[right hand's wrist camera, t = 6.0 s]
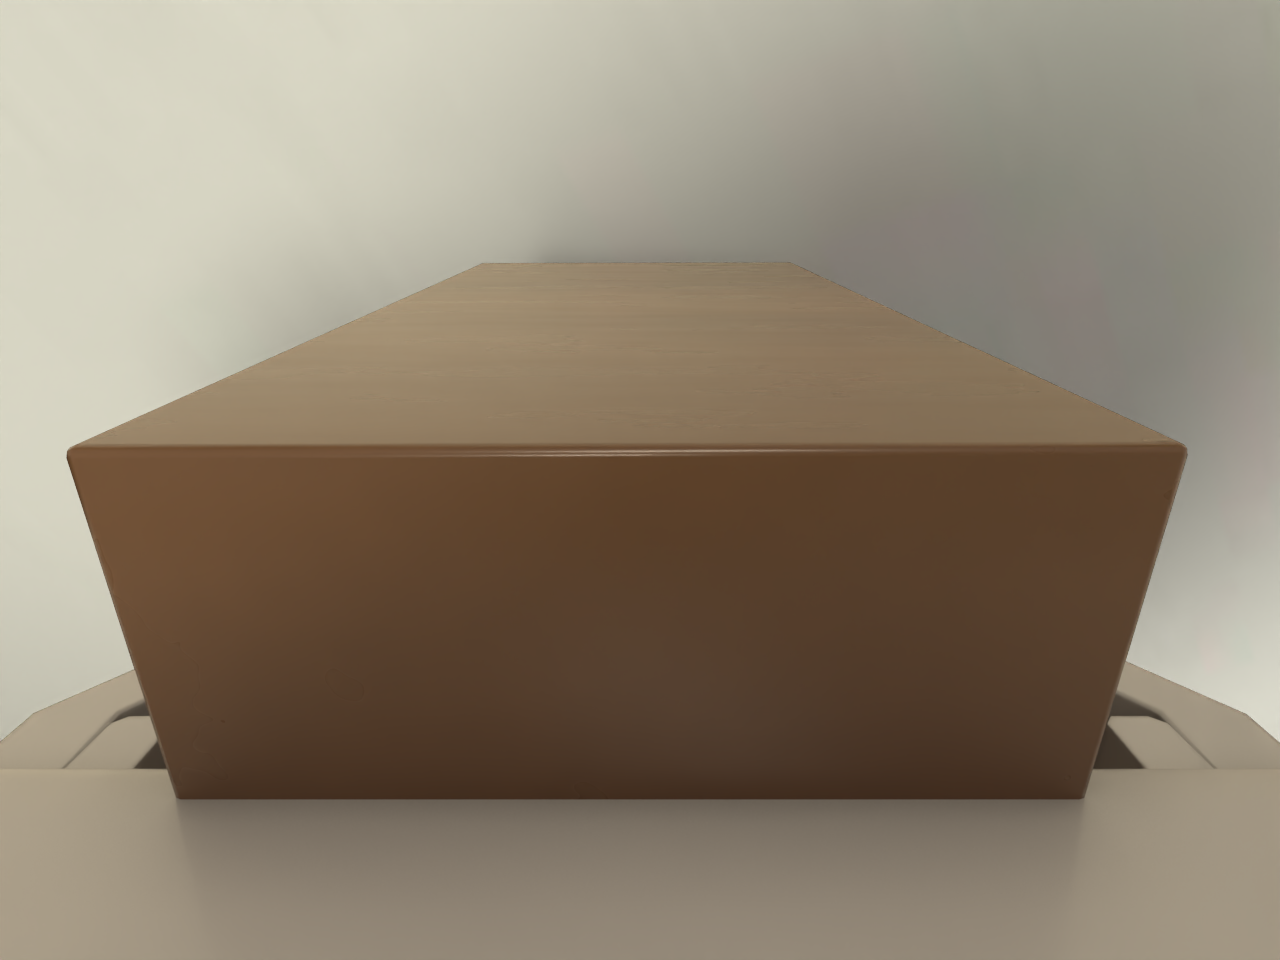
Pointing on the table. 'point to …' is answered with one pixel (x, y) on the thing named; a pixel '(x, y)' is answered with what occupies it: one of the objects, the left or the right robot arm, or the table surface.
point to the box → (629, 551)
